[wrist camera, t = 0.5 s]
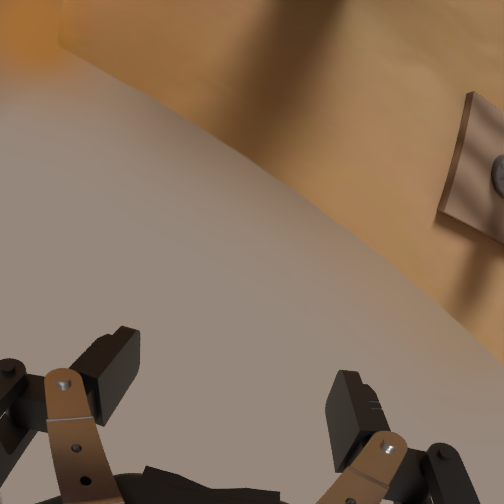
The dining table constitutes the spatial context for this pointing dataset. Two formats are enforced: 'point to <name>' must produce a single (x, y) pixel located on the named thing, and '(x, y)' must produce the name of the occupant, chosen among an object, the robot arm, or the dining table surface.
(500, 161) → the dark grey cylinder
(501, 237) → the walnut block
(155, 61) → the dining table surface
